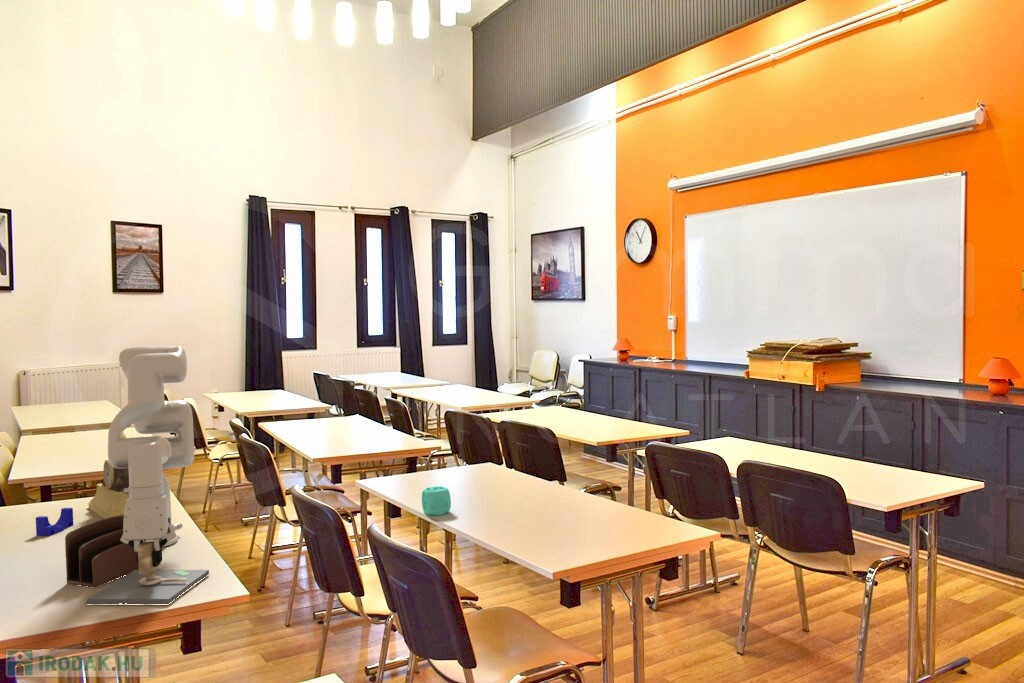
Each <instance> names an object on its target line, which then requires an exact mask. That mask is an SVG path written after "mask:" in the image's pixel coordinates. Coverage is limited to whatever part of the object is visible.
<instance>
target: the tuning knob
mask: <svg viewBox="0 0 1024 683" xmlns="http://www.w3.org/2000/svg"><path fill="white" fill-rule="evenodd" d="M154 548H155V547H154V539H153V540H146V541H145V542H143V543H141V544H140V545H138V563H139V574H146V577H145V578H142V579H141V580H139V584H140V585H153V584H156V583H159V582H186V581H187V578H168V579H162V577H161V576H155V570H158V568H160V567H161V566H162V564H161V563H162V562H161V563H160V564H159V565H158V566H157V567H153V551H154Z"/></svg>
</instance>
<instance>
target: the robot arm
mask: <svg viewBox="0 0 1024 683" xmlns="http://www.w3.org/2000/svg"><path fill="white" fill-rule="evenodd" d="M187 358H188V357H187V354H186V351H185V349H184V348H183V347H182V346H180V345H160V346H158V345H157V346H153V345H152V346H151V345H150V346H135V347H133V346H132V347H129V348H125V349H122V350H121V352H120V353H119V354H118V360H119V365H120V368H121V370H122V372H123V373H124V374H123V375H124V376H125V378H126V379H127V404H126V405H125V406H123V407H122V409H120V410H119V411H118V413H117V414H116V415H115V417H114V418H113V420H112V421H111V423H110V425H109V428H108V436H107V457H108V459H107V460H109V463H110V464H111V466H112V467H114V468H118V469H122V468H128V469H129V487H128V488H124V494H129V497H130V498H128V499H126V503H125V509H124V521H123V535H122V537H121V539H120V540H121V541H122V542H124V543H126V544H129V545H130V546H131V547H132V548H133V549H134V551H135V552H136V555H137V564H139V563H138V545H140V544H141V543H143V542H144V540H153V539H154V547H155V548H154V551H153V567H157V566H158V565H159V564H160V563H162V561H163V548H164V547H168V546H171V545H173V544H175V543H177V542H178V539H179V537H178V536H179V535H177V534H176V531H178V530H181V529H182V528H183V523H182V522H178V523H177V522H176V523H172V505H171V502H172V501H171V498H172V497H171V484H170V481H169V479H168V478H167V476H165V474H163V473H164V472H163V470H166V469H167V470H168V469H177V468H186V467H189V466H191V465H192V464H193V462H194V461H195V436H194V418H193V410H192V407H191V405H190V403H189V402H188V401H186V400H179V399H178V400H166V399H165V387H164V384H174V383H181V382H183V381H185V380H186V377H187V371H188V361H187V360H188V359H187ZM131 425H134V429H135V431H136V432H137V433H138V434H142V435H152V436H138V437H137V436H136V437H126V438H124V439H120V437H121V434H122V432H123V433H124V430H126V429H127V428H128V427H130V426H131ZM169 433H171V434H172V433H175V434H176V435H174V436H173V435H171V436H163V435H162V436H161V435H157V434H169ZM153 435H154V436H153Z"/></svg>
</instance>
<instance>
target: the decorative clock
mask: <svg viewBox="0 0 1024 683" xmlns="http://www.w3.org/2000/svg"><path fill="white" fill-rule="evenodd" d="M124 438H127V436H126V434H125V433H124V431H123V432H122V434H121V437H120V439H124ZM102 470H103V480H102V482H101V483H97V484H96V492H95V495H94V496H93V498H92V499H91V500H90V501H89V502H87V503H88V508H89V509H90V510H91V511H93V512H94V513H95V514H96V515H98V516H99V517H100V518H102V519H106V518H110V517H114V516H120V515H124V509H125V503H126V499H128V498H130V497H129V494H124V488H128V487H129V469H128V468H122V469H118V468H114V467H112V466H111V464H110V463H109V460H108V459H107V460H104V462H103V469H102Z"/></svg>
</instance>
